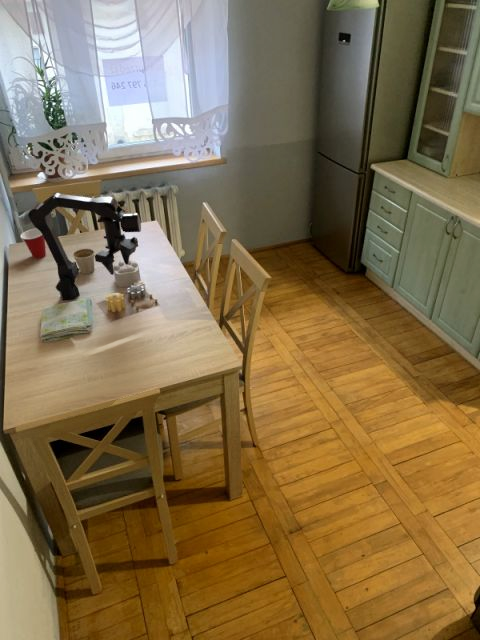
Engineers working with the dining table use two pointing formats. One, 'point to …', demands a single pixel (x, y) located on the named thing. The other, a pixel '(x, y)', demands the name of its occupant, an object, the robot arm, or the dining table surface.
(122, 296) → the loose gear
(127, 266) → the grey paw block
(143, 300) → the board
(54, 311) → the towel
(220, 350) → the dining table surface
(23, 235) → the plastic cup
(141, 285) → the small gear
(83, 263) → the flower pot
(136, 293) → the gear
